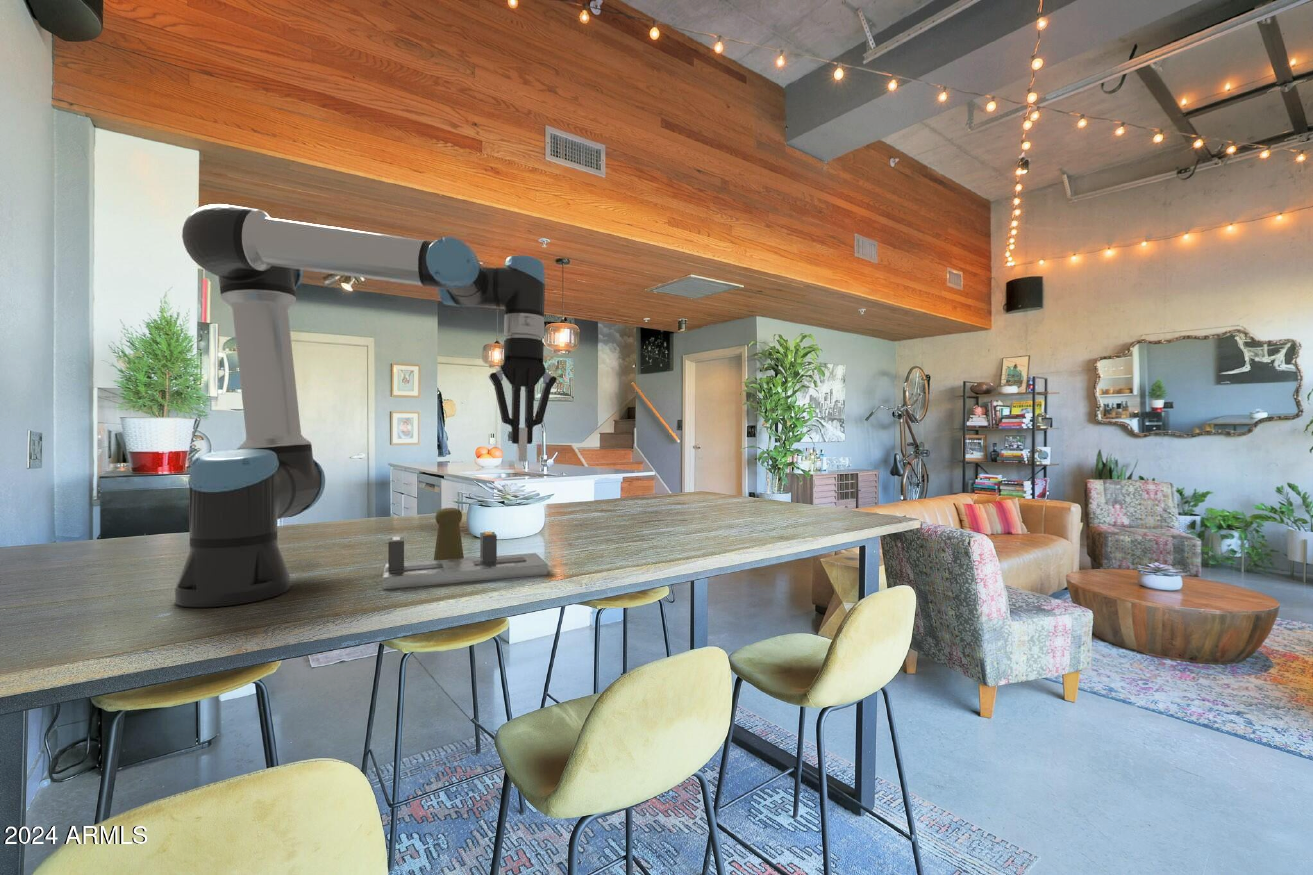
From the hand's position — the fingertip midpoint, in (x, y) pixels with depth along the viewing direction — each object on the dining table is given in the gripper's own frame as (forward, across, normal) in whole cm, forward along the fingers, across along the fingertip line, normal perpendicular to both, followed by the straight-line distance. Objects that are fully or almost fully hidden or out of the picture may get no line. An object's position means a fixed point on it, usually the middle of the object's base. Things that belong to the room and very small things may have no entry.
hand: (521, 461), depth 114 cm
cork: (+22, -12, +13) cm, 28 cm away
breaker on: (+19, -22, 0) cm, 29 cm away
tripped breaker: (+19, -6, 0) cm, 20 cm away
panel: (+21, -10, 0) cm, 23 cm away
